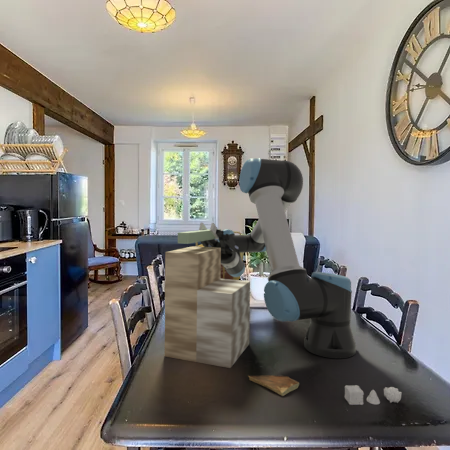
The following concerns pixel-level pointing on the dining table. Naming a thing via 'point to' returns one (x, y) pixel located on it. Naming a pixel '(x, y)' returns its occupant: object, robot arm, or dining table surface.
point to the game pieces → (370, 395)
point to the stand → (204, 308)
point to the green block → (195, 236)
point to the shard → (276, 383)
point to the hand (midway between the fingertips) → (206, 226)
